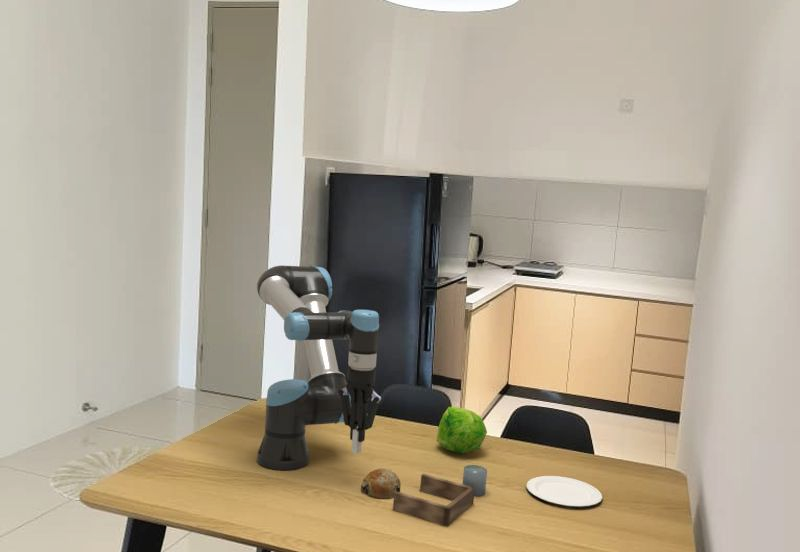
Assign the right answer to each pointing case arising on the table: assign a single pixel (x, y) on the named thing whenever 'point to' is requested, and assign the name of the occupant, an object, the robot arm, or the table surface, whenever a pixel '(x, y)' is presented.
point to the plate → (564, 491)
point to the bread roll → (381, 483)
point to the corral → (432, 510)
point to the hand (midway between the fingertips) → (356, 452)
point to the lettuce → (461, 430)
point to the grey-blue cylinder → (475, 479)
